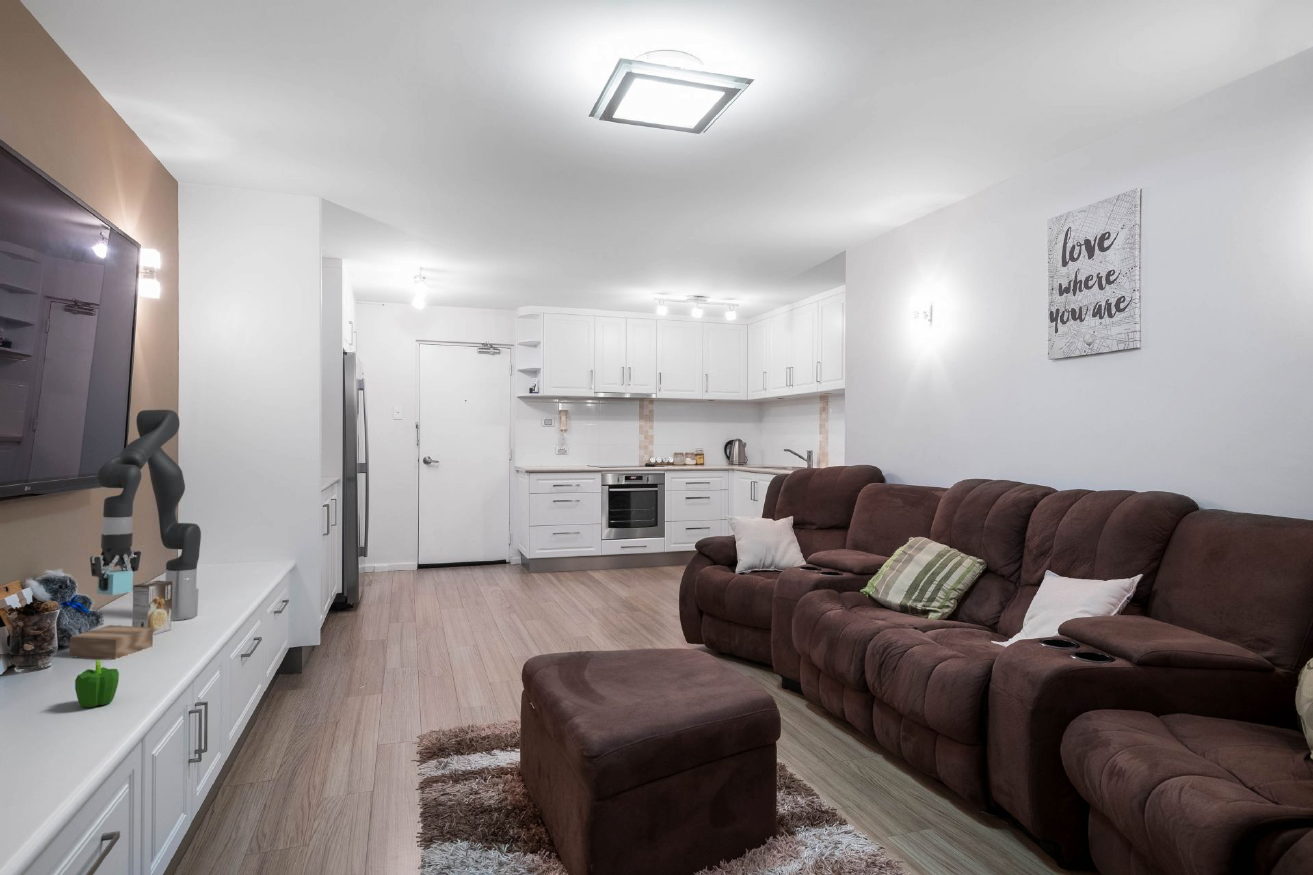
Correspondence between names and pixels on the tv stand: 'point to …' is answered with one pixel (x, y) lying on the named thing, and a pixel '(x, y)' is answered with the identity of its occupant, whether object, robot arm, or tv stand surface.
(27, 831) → the tv stand surface
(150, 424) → the robot arm
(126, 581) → the teal cube
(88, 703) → the bell pepper
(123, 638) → the walnut block
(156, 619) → the coffee box
